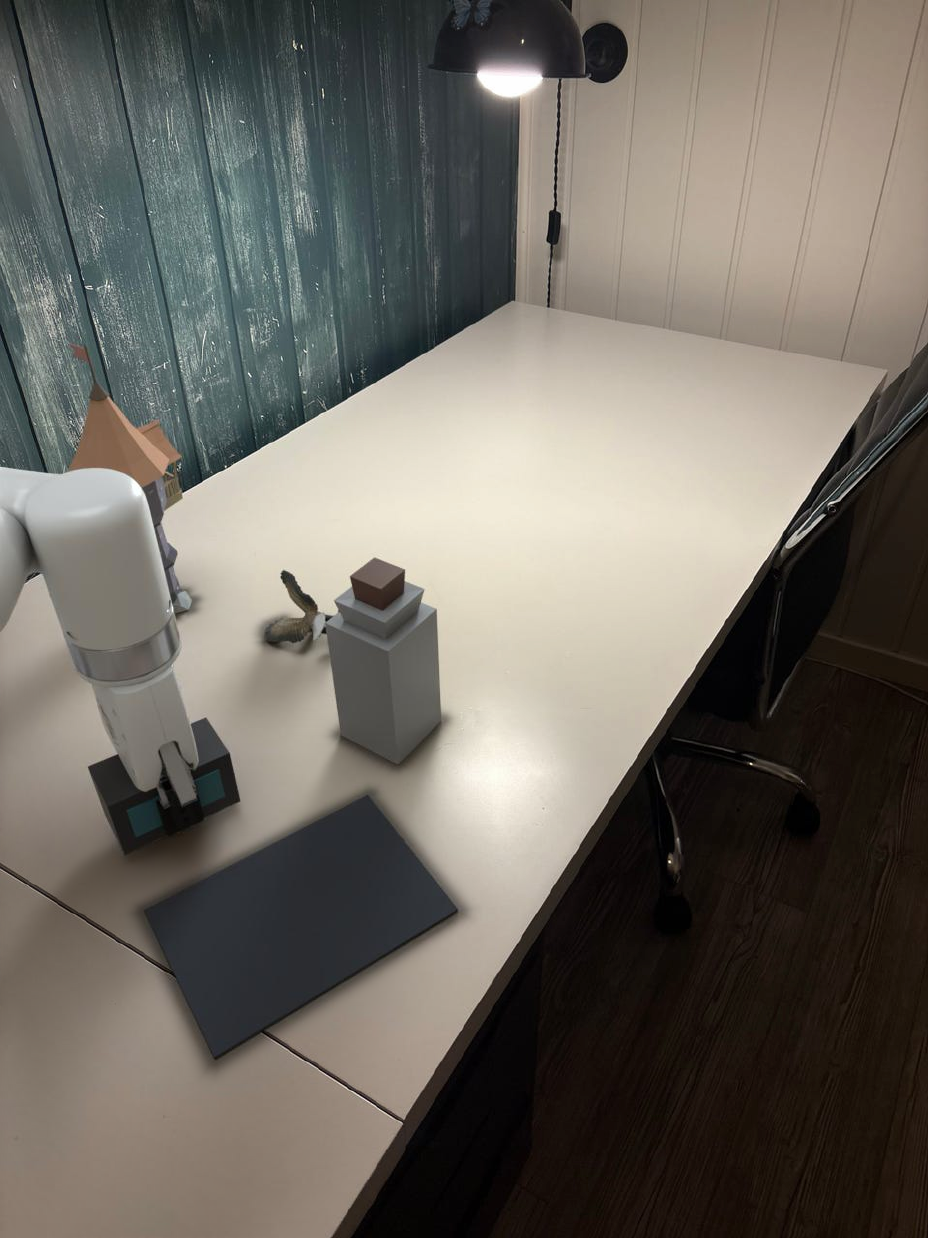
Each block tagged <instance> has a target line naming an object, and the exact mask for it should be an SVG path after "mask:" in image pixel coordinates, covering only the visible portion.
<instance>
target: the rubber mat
mask: <svg viewBox="0 0 928 1238" xmlns="http://www.w3.org/2000/svg"><path fill="white" fill-rule="evenodd" d="M143 912H144V914H145V916H146V919H147V920H148V923H149V924H150V926H151V929H152V931H153V933H154V935H155V937H156V939H157V941H158V943H159V945H160V947H161V949H162V953H163V954H164V956H165V958H166V960H167V963H168V965H169V966H170V968H171V971H172V972H173V973H172V974H173V975H174V977H175V980H176V981H177V983H178V985H179V987H180V990H181V991H182V994H183V996H184V998H185V1000H186V1002H187V1004H188V1006H189V1008H190V1010H191V1013H192V1014H193V1016H194V1019H195V1021H196V1023H197V1025H198V1027H199V1029H200V1031H201V1033H202V1035H203V1037H204V1039H205V1042H206V1044H207V1046H208V1048H209V1050H210V1052H211V1054H212V1057H213V1058H214V1060H217V1059H218V1058H220V1057H222V1056H223V1055H225V1054H227V1053H228V1052H230V1051H232V1050H234V1049H235V1048H236V1047H238V1046H240V1045H241V1044H243V1043H245V1042H246V1041H248V1040H249V1039H251V1038H253V1037H254V1036H256V1035H258V1034H260V1033H261V1032H263V1031H264V1030H266V1029H268V1028H269V1027H271V1026H272V1025H274V1024H276V1023H278V1022H279V1021H281V1020H283V1019H284V1018H285V1017H287V1016H289V1015H291V1014H293V1013H294V1012H296V1011H297V1010H299V1009H300V1008H302V1007H304V1006H305V1005H307V1004H309V1003H310V1002H312V1001H314V1000H315V999H317V998H318V997H320V996H321V995H323V994H325V993H326V992H328V991H330V990H331V989H333V988H335V987H337V986H338V985H340V984H342V983H343V982H345V981H346V980H348V979H349V978H351V977H353V976H355V975H356V974H358V973H359V972H361V971H363V970H365V969H366V968H368V967H370V966H371V965H372V964H375V963H376V962H377V961H379V960H381V959H383V958H384V957H386V956H387V955H389V954H390V953H392V952H394V951H395V950H397V949H399V948H400V947H402V946H403V945H406V944H407V943H409V942H410V941H412V940H414V939H415V938H417V937H419V936H420V935H422V934H423V933H425V932H426V931H429V930H430V929H431V928H433V927H435V926H437V925H438V924H439V923H441V922H443V921H445V920H446V919H448V918H450V917H451V916H453V915H455V914H456V913H458V912H459V908H458V907H457V906H456V905H455V903H454V902H453V901H452V899H451V898H450V897H449V896H448V895H447V893H446V892H445V890H444V889H443V888H442V887H441V885H439V882H438V881H436V879H435V878H434V877H433V876H432V874H431V873H430V872H429V870H428V869H427V868H426V867H425V865H424V864H423V863H422V862H421V860H420V859H419V858H418V856H417V855H416V854H415V853H414V851H413V850H412V848H410V846H409V845H408V844H407V842H406V841H405V839H403V837H402V836H401V835H400V834H399V832H398V831H397V830H396V829H395V827H394V826H393V825H392V824H391V822H390V821H389V820H388V818H387V817H386V816H385V815H384V814H383V812H382V811H381V810H380V808H379V807H378V805H376V803H375V802H374V801H373V799H371V797H370V796H369V794H366V795H364V796H362V797H360V798H358V799H357V800H355V801H353V802H351V803H348V804H346V805H345V806H343V807H341V808H339V809H337V810H335V811H333V812H331V813H329V814H327V815H325V816H323V817H322V818H320V819H318V820H316V821H313V822H312V823H310V824H308V825H306V826H304V827H302V828H300V829H298V830H296V831H294V832H292V833H290V834H289V835H287V836H285V837H283V838H281V839H279V840H277V841H275V842H273V843H271V844H269V845H267V846H265V847H263V848H261V849H260V850H258V851H255V852H254V853H251V854H250V855H248V856H245V857H244V858H242V859H240V860H238V861H236V862H234V863H233V864H231V865H229V866H226V867H224V868H222V869H221V870H219V871H216V872H215V873H213V874H211V875H209V876H207V877H205V878H203V879H201V880H199V881H197V882H195V883H194V884H191V885H189V886H187V887H186V888H184V889H182V890H180V891H177V892H176V893H174V894H172V895H170V896H168V897H166V898H164V899H163V900H160V901H158V902H156V903H155V904H153V905H151V906H149V907H146V908H145V909H143Z"/></svg>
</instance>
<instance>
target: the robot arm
mask: <svg viewBox="0 0 928 1238" xmlns="http://www.w3.org/2000/svg"><path fill="white" fill-rule="evenodd" d="M34 573H39V574H41V575H42V577H43V579H44V583H45V586H46V588H47V592H48V594H49V596H50V600H51V603H52V605H53V608H54V611H55V614H56V617H57V621H58V623H59V626H60V629H61V632H62V634H63V637H64V641H65V643H66V646H67V648H68V652H69V655H70V658H71V661H72V664H73V667H74V669H75V672H76V673H77V675H78V676H79V677H80V678H81V679H83V680H84V681H86V682H87V683H90V684H91V687H92V690H93V693H94V697H95V701H96V704H97V708H98V712H99V715H100V719H101V723H102V725H103V728H104V730H105V732H106V735H107V736H108V739H109V740H110V742H111V744H112V746H113V749H114V750H115V751H116V755H117V754H118V756H119V757H120V759H121V761H122V763H123V765H124V767H125V769H126V770H127V772H128V774H129V776H130V778H131V779H132V781H133V783H134V785H135V786H136V787H137V788H138V789H139V790H141V791H144V792H147V791H148V790H151V789H153V788H155V789H156V792H157V795H158V797H159V800H158V801H156V804H157V808H158V811H159V814H160V817H161V821H162V824H163V827H164V830H165V832H166V834H167V836H166V837H172V836H173V837H174V836H175V835H177V834H180V833H181V832H184V831H186V830H188V829H190V828H192V827H194V826H197V825H198V824H201V823H202V822H203V821H204V820H205V818H204V814H203V810H202V806H201V802H200V798H199V794H198V791H197V787H196V786H195V784H194V781H193V778H192V775H191V772H190V769H193V770H195V769H196V767H197V765H198V762H199V759H198V753H197V748H196V743H195V739H194V735H193V731H192V728H191V721H190V717H189V713H188V709H187V706H186V703H185V699H184V697H183V693H182V687H181V685H180V682H179V680H178V676H177V673H176V670H175V667H174V663H175V662H176V660H177V659H178V657H179V656H180V652H181V650H182V638H181V635H180V631H179V626H178V623H177V618H176V614H174V609H173V606H172V601H171V597H170V593H169V589H168V584H167V580H166V576H165V572H164V568H163V563H162V559H161V555H160V551H159V547H158V543H157V538H156V534H155V530H154V526H153V522H152V518H151V514H150V509H149V505H148V502H147V499H146V496H145V493H144V492H143V490H142V488H141V487H140V485H139V484H138V483H137V482H136V481H135V480H134V479H132V478H131V477H130V476H128V475H126V474H124V473H121V472H118V471H115V470H111V469H104V468H87V469H79V470H74V471H70V472H67V471H66V472H63V473H51V472H41V471H33V470H26V469H20V468H19V469H18V468H10V467H5V466H0V633H1V632H2V631H3V629H5V627H6V626H7V624H8V623H9V621H10V619H11V616H12V614H13V612H14V610H15V608H16V605H17V604H18V601H19V598H20V597H21V594H22V592H23V589H24V586H25V584H26V581H27V578H28V577H29V576H31V575H32V574H34ZM162 763H163V766H162ZM167 778H169V780H170V783H171V785H172V788H173V789H170V790H168V791H165V788H164V785H163V783H162V781H163V780H165V779H167Z"/></svg>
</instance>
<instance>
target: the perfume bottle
mask: <svg viewBox="0 0 928 1238" xmlns="http://www.w3.org/2000/svg"><path fill="white" fill-rule="evenodd" d="M349 579H350V584H351V587H349V588H348V589H346V590H345V591H344V592H343V593H341V594H339V596H337V597H336V598H334V600H333V602H334V604H335V606H336V607H337V613H336V614H335V616H333V615H332V616H333V617H332V618H331V619H330V620H328V621H327V622H325V627H326V632H327V634H326V638H327V639H326V640H327V645H328V653H329V660H330V667H331V672H332V673H331V674H332V681H333V689H334V696H335V704H336V712H337V718H338V719H337V720H338V727H339V732H340V736H342V737H343V738H345V739H347V740H349V741H351V742H353V743H355V744H357V745H359V746H361V747H362V748H364V749H366V750H368V751H371V752H372V753H374V754H375V755H378V756H380V757H381V758H384V759H385V760H388V761H390V762H391V763H393V764H395V765H397V766H399V765H400V764H401V763H402V762H403V761H404V760H405V758H407V756H408V755H409V754H410V753H411V752H413V750H415V748H416V747H417V746H418V745H419V744H420V743H421V742H422V741H423V740H424V739H425V738H426V737H428V735H429V734H430V733H431V732H433V730H434V729H435V728H436V727H437V726H438V725H439V724H440V723H441V722H442V705H441V703H442V702H441V681H440V657H439V655H440V654H439V633H438V631H439V630H438V629H439V628H438V610H437V608H435V607H433V606H431V605H428V604H426V603H425V602H422V600H423V596H424V593H425V588H423V587H420V586H418V585H415V584H413V583H410V582H409V581H406V569H405V568H402V567H400V566H397V565H395V564H392V563H390V562H387V561H385V560H382V559H380V558H377V557H373V558H372V559H370V560H369V561H368V562H366V563H365V564H364V565H363V566H361V567H360V568H359V569H357V570H356V571H354V572H353V573H352V574H351V575H349ZM338 610H339V612H338Z"/></svg>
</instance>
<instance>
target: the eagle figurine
mask: <svg viewBox="0 0 928 1238" xmlns="http://www.w3.org/2000/svg"><path fill="white" fill-rule="evenodd" d="M279 575H280V577H279V578H280V580H281V581H282V584H283V585H284V586H285V588H286V590H287V594H288V596H289V598H290V600H291V601H292V602H293V603H294V604H295V605H296V606H297V607H298V608H299V609H300V610H301V611H302V612H303V613H304V616H303V617H287V618H286V617H280V618H279V619H276V620H275V621H274V622H270V623H269V624H268V625H267V626H266V627H265V631H264V633H265V635H264V637H265V640H266V641H267V642H270V643H271V642H272V643H275V642H278V643H279V642H288V643H291V644H294V643H298V642H299V643H300V642H302V641H304V640H305V637H307V636H308V634H310V633H312V636H313V638H312V641H313V642H315V641H316V640H318V639H319V638H320V637H321V634H322V635H327V632H326V625H325V623H326V622H327V621H328V620H330V619H331V618H332V617H333V616H335V615H336V614H335V615H331V614H325V611H323V612H321V611H318V610H319V607H318V603H316V601H315V600H314V598H313V597H311V595H310V594H307V593H306V592H304V591H303V590H302V588H301V586H300V585H299V584H298V581H297V580H296V576H295V575H294V574H293V573H291V572H289V571H287V570H286V569H283V570H281V572H280V574H279ZM338 612H339V610H338V609H337V613H338Z"/></svg>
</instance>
